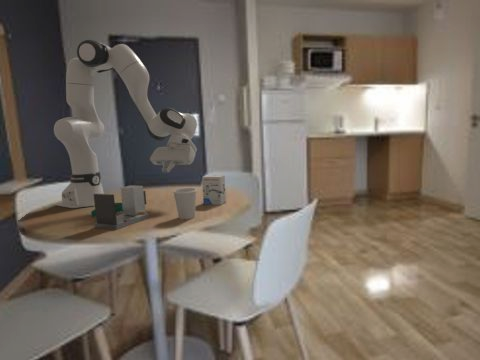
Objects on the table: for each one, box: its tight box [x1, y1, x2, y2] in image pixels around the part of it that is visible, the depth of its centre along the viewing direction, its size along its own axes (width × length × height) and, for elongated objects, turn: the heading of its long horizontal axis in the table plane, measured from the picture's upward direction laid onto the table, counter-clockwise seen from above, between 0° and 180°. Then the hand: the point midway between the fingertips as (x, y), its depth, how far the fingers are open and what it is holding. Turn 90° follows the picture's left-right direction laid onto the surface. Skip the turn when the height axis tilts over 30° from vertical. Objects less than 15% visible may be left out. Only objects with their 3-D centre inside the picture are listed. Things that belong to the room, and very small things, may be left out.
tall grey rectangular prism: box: [120, 184, 148, 216], centre depth 132 cm, size 9×6×10 cm
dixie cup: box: [172, 187, 198, 220], centre depth 129 cm, size 8×8×10 cm
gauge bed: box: [93, 193, 150, 231], centre depth 127 cm, size 10×16×12 cm, turn 153°
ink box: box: [201, 174, 227, 206], centre depth 150 cm, size 9×5×12 cm, turn 68°
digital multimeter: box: [91, 202, 123, 218], centre depth 145 cm, size 7×15×3 cm, turn 159°
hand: (165, 171), depth 148 cm, fingers closed
